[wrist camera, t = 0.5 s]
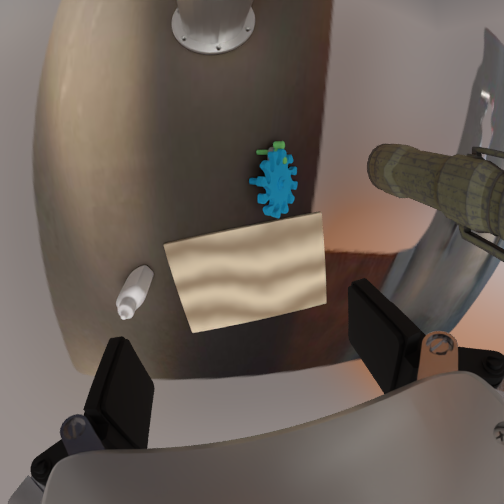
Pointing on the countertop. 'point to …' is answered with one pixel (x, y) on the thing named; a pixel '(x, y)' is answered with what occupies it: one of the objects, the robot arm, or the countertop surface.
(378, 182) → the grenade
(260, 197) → the gear
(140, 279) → the eye dropper bottle
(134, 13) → the countertop surface
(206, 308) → the beige flat sheet
